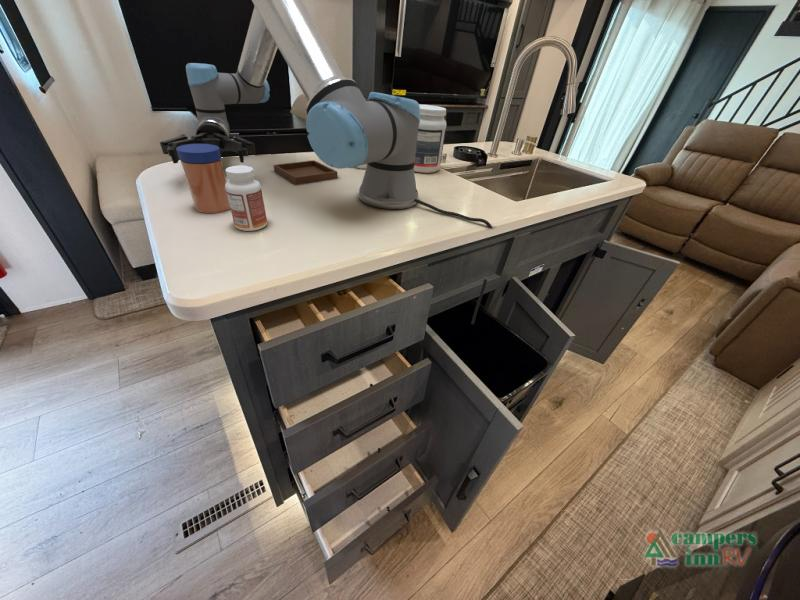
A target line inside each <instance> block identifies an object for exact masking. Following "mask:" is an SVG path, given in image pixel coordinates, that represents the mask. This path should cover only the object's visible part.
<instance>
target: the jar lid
mask: <svg viewBox="0 0 800 600" xmlns="http://www.w3.org/2000/svg"><path fill="white" fill-rule="evenodd" d="M176 150H177V153H178V156H179V161H180V162H181V161H184V162H188V163H209V162H214V161H218V160H220V159H221V160H222V153H220V150H219V147H218V146H215V145H211V144H186V145H181V146H178V147H177V148H176Z"/></svg>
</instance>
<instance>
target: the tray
mask: <svg viewBox="0 0 800 600" xmlns="http://www.w3.org/2000/svg"><path fill="white" fill-rule="evenodd" d="M273 170H274V172H275V173H276V174H278V175H279V176H281V177H282V178H283V179H286V180H287V181H289V182H291V183H293V184H294V185H296V186H298V185H304V184H311V183H317V182H321V181H328V180H329V181H330V180H335V179H338V176H339V175H338V170H335V169H334V168H332V167H330V166H328V165H326V164H325V165H324V164H323V163H321V162H319V161H316V160H315V159H314V160H313V159H311V160H304V161H303V160H302V161H295V162H286V163H277V164H273Z"/></svg>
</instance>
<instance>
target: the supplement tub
mask: <svg viewBox="0 0 800 600" xmlns="http://www.w3.org/2000/svg"><path fill="white" fill-rule="evenodd" d="M418 104H419V106H420V115H419V119H420V123H419V127H418V136H417V145H416V154H415V162H414V173H415V172H416V173H421V174H431V173H432V174H433V173H434V172H438V171H439V170H440V168H441V163H442V158H443V157H442V156H443V150H444V144H445V137H446V130H447V120H446V119H445V117H446V115H447V108H445V107H442V106H438V105H432V104H421V103H418Z"/></svg>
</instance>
